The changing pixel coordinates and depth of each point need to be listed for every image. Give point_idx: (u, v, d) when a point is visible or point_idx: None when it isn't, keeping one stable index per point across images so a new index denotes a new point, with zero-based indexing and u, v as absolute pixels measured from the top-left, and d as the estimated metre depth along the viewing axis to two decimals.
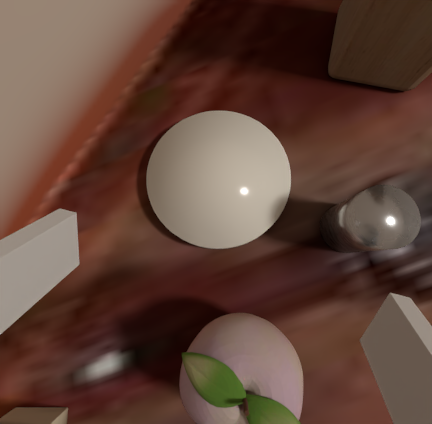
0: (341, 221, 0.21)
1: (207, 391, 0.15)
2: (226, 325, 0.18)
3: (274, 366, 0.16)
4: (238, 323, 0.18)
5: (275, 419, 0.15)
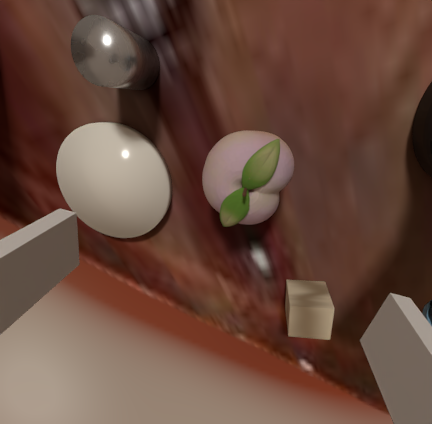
0: (119, 87, 0.23)
1: (238, 215, 0.22)
2: (205, 194, 0.24)
3: (223, 165, 0.21)
4: (203, 185, 0.24)
5: (254, 170, 0.20)
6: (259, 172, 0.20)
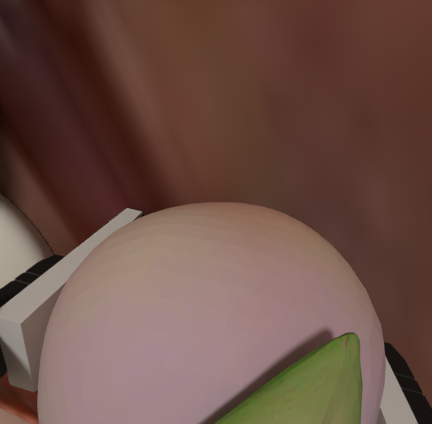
0: None
1: None
2: None
3: (60, 420, 0.04)
4: None
5: None
6: None
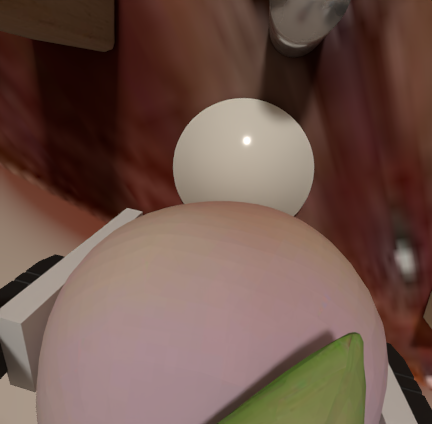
0: (303, 46, 0.19)
1: None
2: None
3: (59, 421, 0.04)
4: None
5: None
6: None
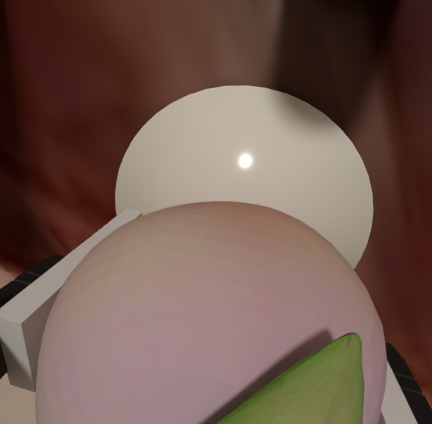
0: None
1: None
2: None
3: (57, 421, 0.04)
4: None
5: None
6: None
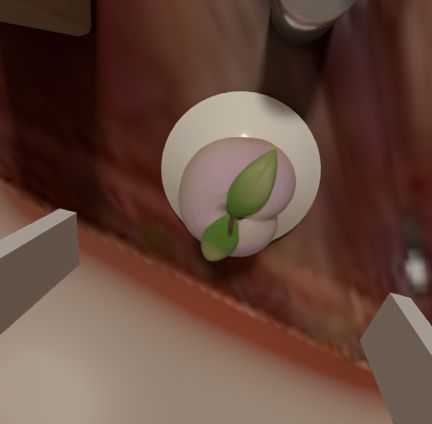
0: (314, 29, 0.16)
1: (224, 249, 0.17)
2: None
3: (202, 186, 0.16)
4: (179, 209, 0.19)
5: (242, 193, 0.15)
6: (250, 195, 0.15)
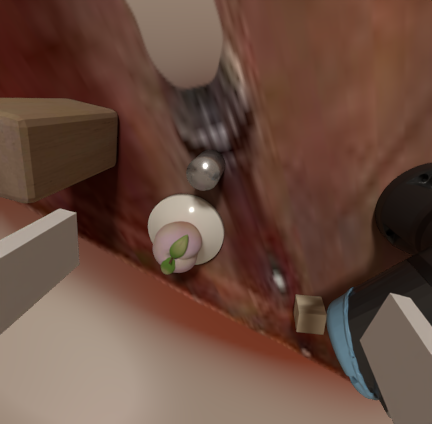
0: None
1: (169, 270, 0.41)
2: (154, 256, 0.43)
3: (160, 245, 0.41)
4: (153, 251, 0.43)
5: (174, 250, 0.39)
6: (177, 251, 0.40)
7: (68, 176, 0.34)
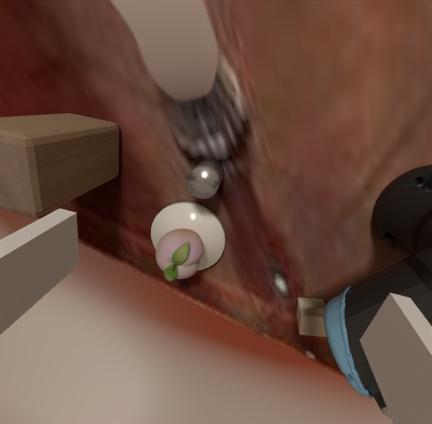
0: None
1: (172, 277, 0.43)
2: None
3: (163, 253, 0.42)
4: (156, 259, 0.44)
5: (176, 257, 0.41)
6: (179, 258, 0.41)
7: (72, 189, 0.35)
